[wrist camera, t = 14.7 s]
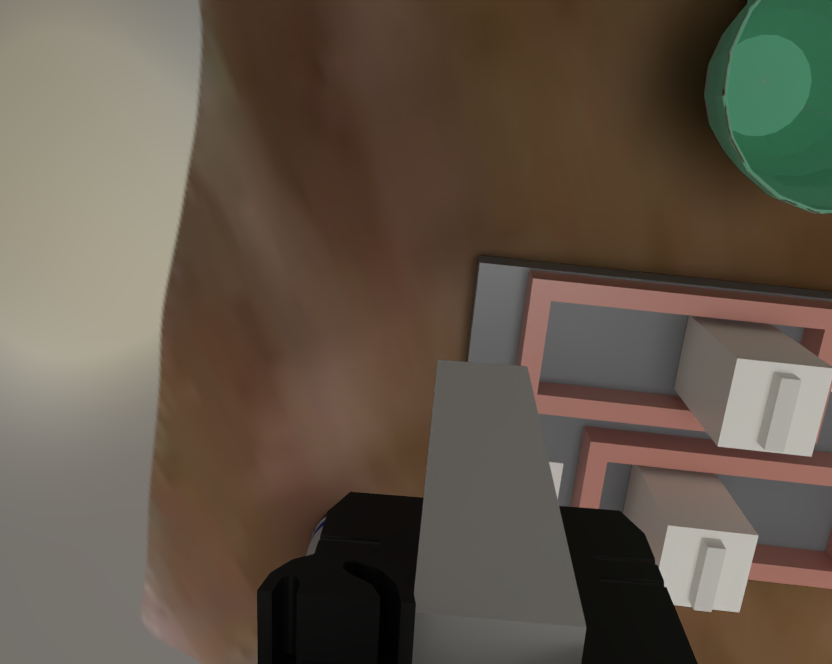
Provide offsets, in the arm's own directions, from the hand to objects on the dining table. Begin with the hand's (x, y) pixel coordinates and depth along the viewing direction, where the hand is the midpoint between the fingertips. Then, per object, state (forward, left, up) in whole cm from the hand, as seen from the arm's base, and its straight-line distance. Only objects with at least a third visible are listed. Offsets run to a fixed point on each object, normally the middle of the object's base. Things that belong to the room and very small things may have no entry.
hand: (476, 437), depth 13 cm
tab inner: (+6, +14, -26) cm, 30 cm away
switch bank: (+9, +13, -28) cm, 32 cm away
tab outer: (+13, +12, -26) cm, 32 cm away
